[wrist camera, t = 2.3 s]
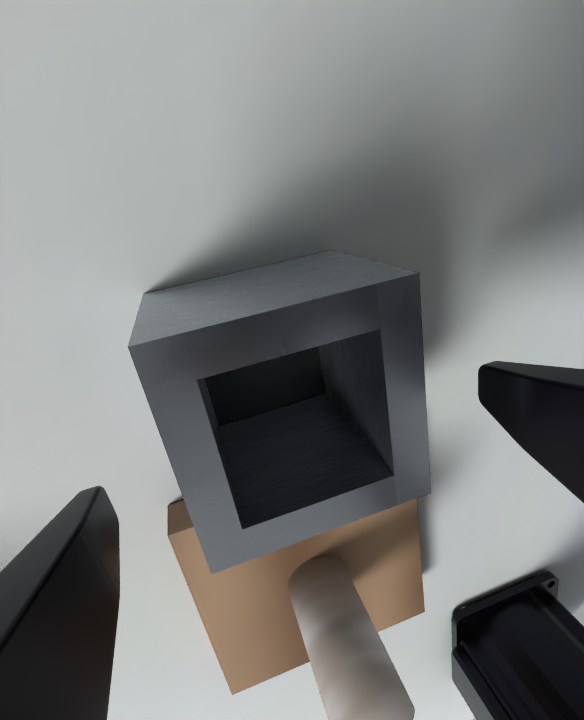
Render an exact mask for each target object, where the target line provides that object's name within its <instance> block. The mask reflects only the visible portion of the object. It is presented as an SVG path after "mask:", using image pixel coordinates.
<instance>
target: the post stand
mask: <svg viewBox="0 0 584 720" xmlns="http://www.w3.org/2000/svg"><path fill="white" fill-rule="evenodd" d="M168 538H169V540H170V543H171V545H172V548H173V550H174V553H175V555H176V558H177V560H178V563H179V565H180V567H181V570H182V572H183V575H184V577H185V580H186V582H187V585H188V587H189V590H190V592H191V595H192V597H193V600H194V602H195V604H196V607H197V609H198V612H199V614H200V617H201V619H202V622H203V624H204V627H205V629H206V632H207V634H208V636H209V639H210V641H211V644H212V646H213V649H214V651H215V654H216V656H217V659H218V661H219V664H220V666H221V669H222V671H223V673H224V676H225V678H226V681H227V683H228V686H229V688H230V691H231V693H232V695H233V694H236V693H238V692H240V691H243V690H245V689H247V688H250V687H252V686H254V685H256V684H259V683H261V682H263V681H266V680H268V679H270V678H273V677H275V676H277V675H280V674H282V673H284V672H287V671H289V670H291V669H293V668H296V667H298V666H300V665H303V664H305V663H307V662H310V663H311V666H312V669H313V672H314V676H315V679H316V682H317V685H318V689H319V692H320V695H321V698H322V701H323V705H324V708H325V711H326V714H327V717H328V720H413V718H414V713H415V709H414V706H413V704H412V702H411V700H410V698H409V696H408V694H407V692H406V690H405V688H404V686H403V683H402V681H401V679H400V677H399V675H398V673H397V671H396V669H395V667H394V665H393V663H392V661H391V659H390V657H389V655H388V653H387V651H386V649H385V647H384V645H383V643H382V641H381V639H380V637H379V635H378V633H377V632H379V631H381V630H384V629H386V628H388V627H390V626H393V625H395V624H397V623H400V622H402V621H404V620H407V619H409V618H411V617H414V616H416V615H418V614H421V613H423V612H425V610H424V596H423V582H422V568H421V554H420V540H419V526H418V512H417V498H416V499H413V500H411V501H408V502H405V503H403V504H400V505H397V506H395V507H392V508H389V509H386V510H384V511H381V512H378V513H376V514H373V515H370V516H368V517H365V518H362V519H360V520H357V521H354V522H352V523H349V524H346V525H343V526H341V527H338V528H335V529H333V530H330V531H327V532H325V533H322V534H319V535H317V536H314V537H311V538H308V539H306V540H303V541H300V542H298V543H295V544H292V545H290V546H287V547H284V548H282V549H279V550H276V551H274V552H271V553H268V554H265V555H263V556H260V557H257V558H255V559H252V560H249V561H247V562H244V563H241V564H239V565H236V566H233V567H230V568H228V569H225V570H222V571H220V572H217V573H214V574H212V575H211V572H210V569H209V567H208V564H207V561H206V559H205V556H204V553H203V550H202V548H201V545H200V542H199V539H198V537H197V534H196V531H195V529H194V526H193V523H192V520H191V518H190V515H189V512H188V509H187V507H186V504H185V501H184V500H183V501H180V502H177V503H174V504H171V505H168Z"/></svg>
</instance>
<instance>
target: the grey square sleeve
mask: <svg viewBox="0 0 584 720" xmlns="http://www.w3.org/2000/svg"><path fill="white" fill-rule="evenodd" d="M317 346H318V349H319V355H320V361H321V367H322V373H323V379H324V385H325V391H326V394H324V395H321V396H317V397H314V398H311V399H308V400H304V401H301V402H298V403H294V404H291V405H288V406H285V407H281V408H278V409H275V410H271V411H268V412H265V413H261V414H258V415H255V416H252V417H248V418H245V419H242V420H238V421H235V422H232V423H228V424H225V425H222V426H218V422H217V419H216V416H215V412H214V409H213V406H212V402H211V399H210V395H209V392H208V389H207V385H206V382H205V378H206V377H210V376H213V375H217V374H220V373H224V372H227V371H231V370H235V369H238V368H242V367H245V366H249V365H253V364H256V363H260V362H263V361H267V360H271V359H274V358H278V357H281V356H285V355H289V354H292V353H296V352H299V351H303V350H306V349H310V348H314V347H317ZM128 349H129V351H130V354H131V357H132V359H133V362H134V365H135V368H136V370H137V373H138V376H139V379H140V381H141V384H142V387H143V389H144V392H145V395H146V398H147V400H148V403H149V406H150V409H151V411H152V414H153V417H154V419H155V422H156V425H157V428H158V430H159V433H160V436H161V439H162V441H163V444H164V447H165V449H166V452H167V455H168V458H169V460H170V463H171V466H172V469H173V471H174V474H175V477H176V479H177V482H178V485H179V488H180V490H181V493H182V496H183V499H184V501H185V504H186V507H187V509H188V512H189V515H190V518H191V520H192V523H193V526H194V529H195V531H196V534H197V537H198V539H199V542H200V545H201V548H202V550H203V553H204V556H205V559H206V561H207V564H208V567H209V569H210V572H211V575H212V574H214V573H217V572H220V571H222V570H225V569H228V568H230V567H233V566H236V565H239V564H241V563H244V562H247V561H249V560H252V559H255V558H257V557H260V556H263V555H265V554H268V553H271V552H274V551H276V550H279V549H282V548H284V547H287V546H290V545H292V544H295V543H298V542H300V541H303V540H306V539H308V538H311V537H314V536H317V535H319V534H322V533H325V532H327V531H330V530H333V529H335V528H338V527H341V526H343V525H346V524H349V523H352V522H354V521H357V520H360V519H362V518H365V517H368V516H370V515H373V514H376V513H378V512H381V511H384V510H386V509H389V508H392V507H395V506H397V505H400V504H403V503H405V502H408V501H411V500H413V499H416V498H419V497H421V496H424V495H427V494H430V493H431V487H430V468H429V449H428V430H427V412H426V393H425V374H424V355H423V336H422V317H421V298H420V280H419V272H415V271H411V270H407V269H403V268H400V267H396V266H392V265H388V264H384V263H380V262H377V261H373V260H369V259H365V258H361V257H358V256H354V255H350V254H346V253H342V252H339V251H335V250H330V251H326V252H322V253H317V254H313V255H309V256H304V257H300V258H296V259H292V260H287V261H283V262H279V263H274V264H270V265H266V266H261V267H257V268H253V269H248V270H244V271H240V272H236V273H231V274H227V275H223V276H218V277H214V278H210V279H205V280H201V281H197V282H193V283H188V284H184V285H180V286H175V287H171V288H167V289H162V290H158V291H154V292H150V293H145V294H143V296H142V300H141V303H140V307H139V310H138V314H137V317H136V321H135V324H134V327H133V331H132V334H131V338H130V341H129V345H128Z"/></svg>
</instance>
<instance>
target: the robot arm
mask: <svg viewBox="0 0 584 720" xmlns="http://www.w3.org/2000/svg"><path fill="white" fill-rule="evenodd" d="M478 396H479V400H480V402H481V404H482V405H483V406H484V407H485V408H486V410H487V411H488V412H489V413H490V414H491V415H492V416H493V417H494V418H495V419H496V420H497V421H498V423H499V424H500V425H501V426H502V427H503V428H504V429H505V430H506V431H507V432H508V433H509V434H510V435H511V437H512V438H513V439H514V440H515V441H516V442H517V443H518V444H519V445H520V446H521V447H522V448H523V449H524V450H525V451H526V452H527V453H528V454H529V455H530V456H531V457H533V458H534V459H535V460H536V461H537V462H538V463H539V464H540V465H542V466H543V467H544V468H545V469H546V470H547V471H548V472H549V473H551V474H552V475H553V476H554V477H555V478H556V479H557V480H558V481H559V482H561V483H562V484H563V485H564V486H565V487H566V488H567V489H568V490H570V491H571V492H572V493H573V494H574V495H575V496H576V497H577V498H578V499H580V500H581V501H582V502H583V503H584V369H575V368H565V367H554V366H544V365H533V364H523V363H513V362H502V361H494V362H490V363H487V364H484V365H482V366H481V367H480V368H479V371H478ZM558 583H559V580H558V578H557V577H556V576H555V575H554V574H553V573H552V572H549V571H548V572H545V573H543V574H541V575H538V576H536V577H534V578H531V579H529V580H527V581H525V582H522V583H520V584H518V585H516V586H513V587H511V588H509V589H506V590H504V591H502V592H500V593H497V594H495V595H493V596H491V597H488V598H486V599H484V600H481V601H479V602H477V603H475V604H472V605H470V606H468V607H466V608H463V609H461V610H459V611H457V612H456V613H455V614H454V615H453V617H452V679H453V681H454V683H455V685H456V687H457V688H458V690H459V691H460V693H461V695H462V696H463V698H464V700H465V701H466V703H467V705H468V706H469V708H470V710H471V711H472V713H473V715H474V716H475V718H476V720H584V626H583V625H582V624H581V623H580V622H579V621H578V620H577V619H576V618H575V617H574V616H573V615H572V614H571V613H570V612H569V611H568V610H567V609H566V608H565V607H564V606H563V605H562V604H561V603H560V602H559V601H558V600H557V591H558ZM119 598H120V557H119V522H118V518H117V515H116V512H115V510H114V508H113V506H112V504H111V502H110V499H109V497H108V495H107V493H106V491H105V489H104V488H103V487H102V486H96V487H93V488H89V489H86V490H83V491H81V492H79V493H78V494H77V495H76V496H75V497H74V498H73V499H72V500H71V501H70V502H69V503H68V504H67V505H66V506H65V507H64V508H63V509H62V510H61V511H60V512H59V513H58V514H57V515H56V516H55V517H54V518H53V519H52V520H51V521H50V522H49V523H48V524H47V525H46V526H45V527H44V528H43V529H42V530H41V532H40V533H39V534H38V535H37V536H36V537H35V538H34V539H33V540H32V541H31V542H30V543H29V544H28V545H27V546H26V547H25V548H24V549H23V550H22V551H21V552H20V553H19V554H18V555H17V556H16V557H15V558H14V559H13V560H12V561H11V562H10V563H9V564H8V565H7V566H6V567H5V568H4V569H3V570H2V571H1V572H0V720H107V713H108V704H109V694H110V685H111V676H112V666H113V657H114V648H115V638H116V629H117V620H118V610H119Z"/></svg>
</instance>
